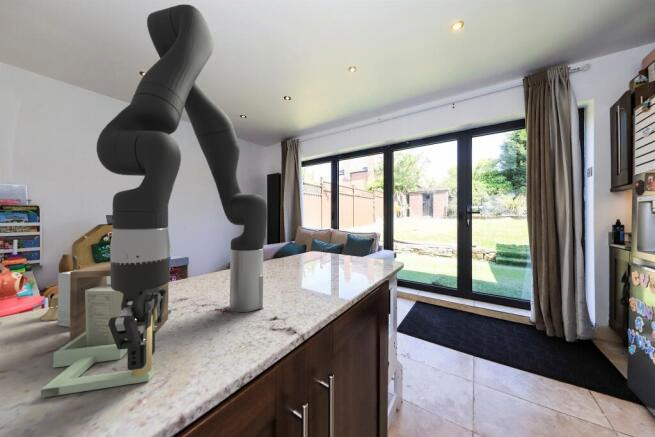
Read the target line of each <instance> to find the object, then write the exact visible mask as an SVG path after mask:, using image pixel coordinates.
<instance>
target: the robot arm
mask: <svg viewBox="0 0 655 437" xmlns="http://www.w3.org/2000/svg"><path fill="white" fill-rule="evenodd" d="M146 18H147V19H146V25H147V26H146V28H147V30H148V31H147V32H148V34H149V37H150V39H151V42H152V44H153V47H154V48H155V51H156V53H157V54H158V57H159V59H158V60H157V61H156V62H155V63H154V64H153V65H152V66H151V67H150V68H149V69H148V70H147V71H146V72H145V73H144V75H143V76H142V78H141V80H139V83H138V85H137V87H136V90H135V91H134V94H133V96H132V99H131V101H130V102H129V105H127V106H126V107H124V108H123V110H121V111H119V113H117V115H115V117H114V118H112V120H110V122H108V123H107V124H106V125H105V127H104V128H103V129H102V130H101V132H100V134H99V136H98V138H97V141H96V154H97V158H98V160H99V162H100V164H101V165H102V166H103V167H104V168H105V169H106V170H107V171H109V172H111V173H112V174H117V175H121V176H138V177H139V176H141V177H143V179H142V181H141V183H140V184H139V185H138V186H137V187H135V188H132V189H126V190H121V191H119V192H117V193H115V194H114V195H113V199H112V233H111V239H110V245H109V246H110V253H109V254H110V256H109V257H110V261H109V262H110V264H111V288H112V289H113V290H115V291H120V292H121V293H123V299H122V303H121V314H120V315H119V317H112V318H110V320H109V323H108V325H109V328H110V330H111V333H112V336H113V338H114V341H115V344H116V346H117V349H118V350H121V349H127V370H136V369H142V368H143V367H144V366H145V365H146V341H147V329H148V328H149V327H150V326H151V319H152V356H153V355H154V354H155V352H156V334H155V332H156V331H157V329H158V324H159V323H161V321H162V313H163V307H164V301H165V294H166V289H159V287H160V286H162V285H164V284H166V283H167V282H170V281H171V280H170V279H171V240H170V239H171V238H170V232H169V204H170V199H171V196H172V192H173V188H174V186H175V182H176V179H177V177H178V174H179V171H180V166H181V160H182V154H181V150H180V146H179V145H178V142H177V141H176V140H175V138H173V136H172V135H171V134H173V133H175V132H176V131H177V130H178V127H179V125H180V122H181V118H182V115H183V111H184V110H185V112H186V114H187V117H188V119H189V121H190V123H191V126H192V129H193V132H194V135H195V136H196V139H197V141H198V144H199V147H200V149H201V151H202V153H203V156H204V158H205V160H206V162H207V165H208V168H209V170H210V172H211V176H212V177H213V180H214V183H215V186H216V190H217V193H218V196H219V199H220V203H221V206H222V208H223V213H224V215H225V216H226V219H227V220H228V222H230V224H232V225H236V226H243V232H242V233H241V234H240V235H239V236H237V237H234V238H232V239H231V240H230V254H229V256H230V259H229V261H230V264H229V268H230V269H229V270H230V271H229V309H230V310H231V311H232V312H236V313H237V312H238V313H248V312H252V311H256V310H260V309H263V308H264V306H263V305H264V243H265V240H266V235H267V223H268V222H267V220H268V207H267V201H266V200H265V198H264V197H263V196H262V195H259V194H243V193H242V191H241V188H240V186H239V183H238V178H237V172H238V164H239V160H240V159H239V158H240V148H241V147H240V144H239V140H238V137H237V134H236V132H235V130H236V129H235V128H234V124H233V123H232V121H231V119H230V118H229V116H228V115H227V114H226V112H225V111H224V110H223V109H222V108H221V107H220V106H219V105H218V104H217V103H215V101H214V100H213V99H211V97H209V95H208V94H207V93H205V91H204V90H203V89H202V86H200V84H199V83H198V80H197V78H198V77H199V76H200V74H201V72H202V70H203V69H204V67H205V65H206V64H207V62H208V61H209V59H210V58H211V56H212V54H213V51H214V45H215V44H214V36H213V32H212V30H211V27H210V25H209V23H208V20H207V19H206V18H205V16H204V15H203V13H202V12H201V11H200V10H199V9H198V8H196V7H195V6H193V5H191V4H185V3H183V4H177V5H173V6H170V7H167V8H166V7H165V8H163V9H159V10H156V11H153V12H151V13H149V14H148V16H147V17H146ZM153 312H154V313H153ZM136 322H144V323H141V324H136ZM139 331H140V334H139ZM157 332H158V331H157Z"/></svg>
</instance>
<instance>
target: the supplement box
mask: <svg viewBox="0 0 655 437" xmlns="http://www.w3.org/2000/svg"><path fill="white" fill-rule="evenodd" d="M72 271H73V270H72ZM72 271H70V272H72ZM70 272H64V273H59V272H58V274H57V276H58V278H57V285H58V286H57V294H58V320H57V326H61V327H62V326H63V327H66V328H67V327H68V328H70ZM107 284H111V276H107Z"/></svg>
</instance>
